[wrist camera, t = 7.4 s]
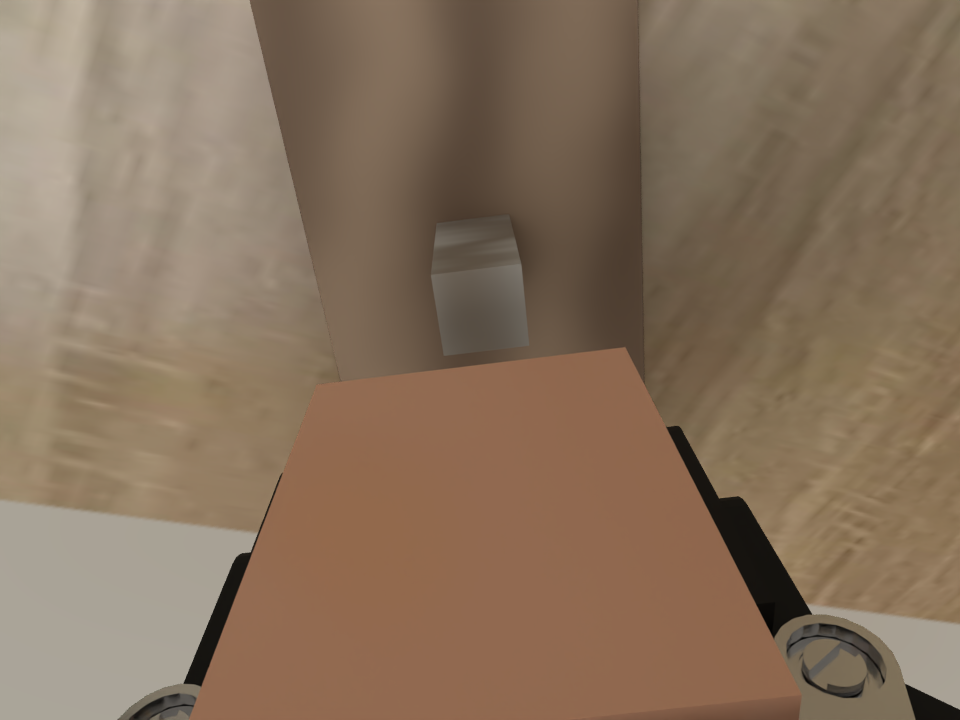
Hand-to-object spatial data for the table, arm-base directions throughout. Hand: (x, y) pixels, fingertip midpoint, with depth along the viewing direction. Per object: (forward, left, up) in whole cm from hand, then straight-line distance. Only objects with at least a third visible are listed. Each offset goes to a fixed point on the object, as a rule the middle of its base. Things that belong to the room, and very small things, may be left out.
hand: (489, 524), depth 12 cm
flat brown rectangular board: (0, 0, -16) cm, 16 cm away
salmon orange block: (0, 0, -1) cm, 1 cm away
